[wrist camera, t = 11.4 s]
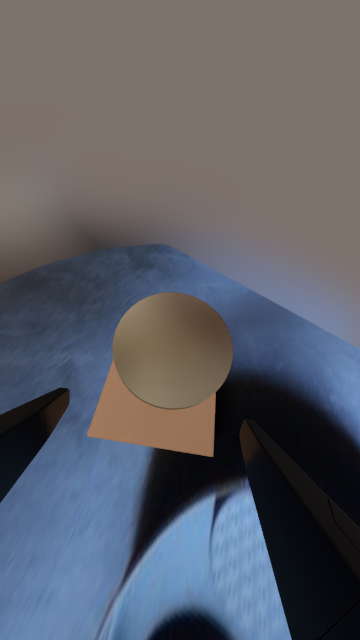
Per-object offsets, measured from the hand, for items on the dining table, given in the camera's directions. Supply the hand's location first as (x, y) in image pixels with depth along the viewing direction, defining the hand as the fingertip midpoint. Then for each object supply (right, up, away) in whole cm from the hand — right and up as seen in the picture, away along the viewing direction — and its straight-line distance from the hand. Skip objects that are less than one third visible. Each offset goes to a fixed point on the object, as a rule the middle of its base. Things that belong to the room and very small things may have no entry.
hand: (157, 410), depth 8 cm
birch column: (-1, -2, +10) cm, 10 cm away
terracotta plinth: (-1, -3, +13) cm, 13 cm away
